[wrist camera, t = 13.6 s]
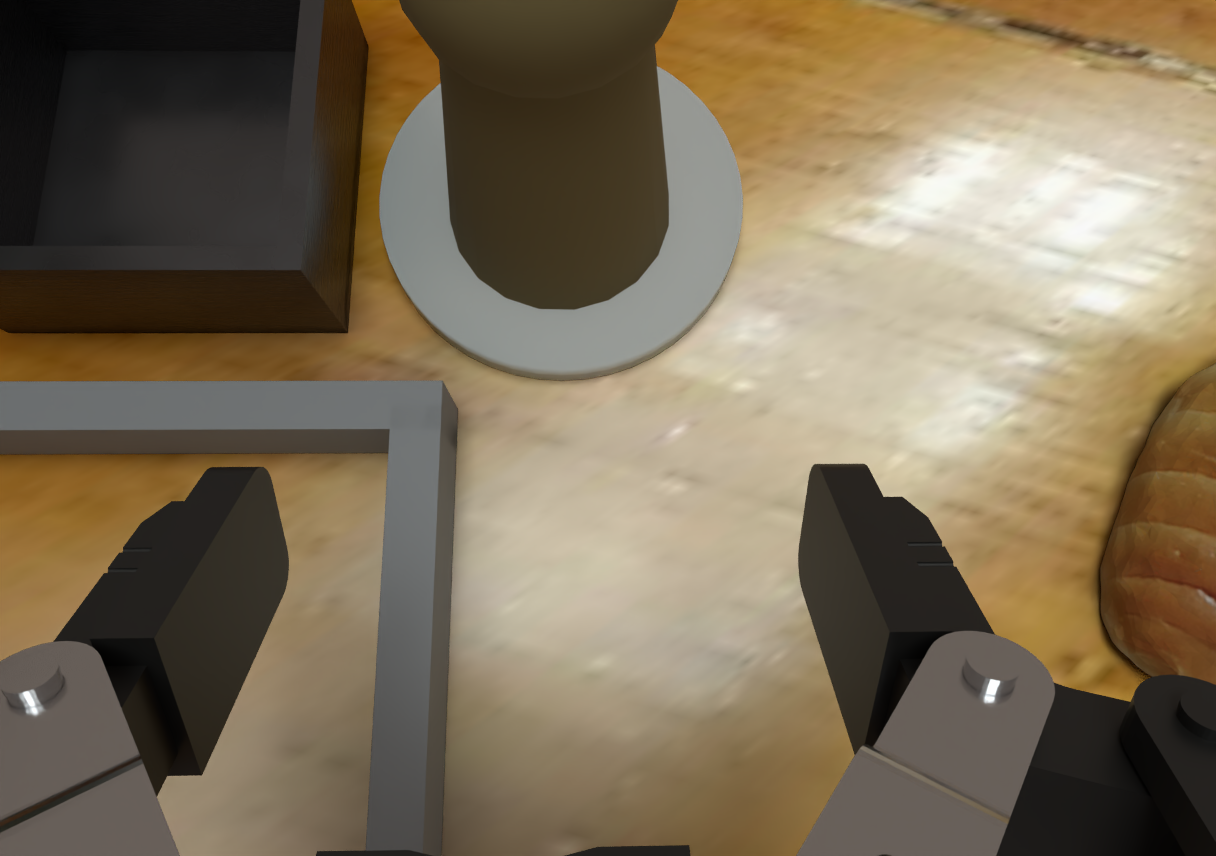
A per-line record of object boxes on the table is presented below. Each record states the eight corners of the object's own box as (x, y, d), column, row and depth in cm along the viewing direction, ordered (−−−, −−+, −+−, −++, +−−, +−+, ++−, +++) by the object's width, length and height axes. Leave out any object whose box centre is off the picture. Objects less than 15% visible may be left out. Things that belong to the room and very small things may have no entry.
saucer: (377, 381, 24) (368, 369, 23) (397, 63, 26) (389, 40, 25) (745, 380, 24) (751, 368, 23) (729, 64, 26) (734, 42, 25)
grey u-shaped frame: (-273, 902, 20) (-392, 935, 18) (-163, 410, 23) (-250, 381, 21) (439, 892, 20) (419, 924, 18) (457, 409, 23) (442, 380, 21)
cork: (517, 78, 25) (459, -352, 14) (707, 168, 24) (795, -212, 14) (408, 248, 24) (251, -85, 13) (606, 348, 23) (614, 84, 12)
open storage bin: (8, 333, 24) (-106, 269, 20) (59, 44, 26) (-33, -63, 22) (347, 332, 24) (300, 270, 20) (367, 46, 26) (329, -60, 22)
